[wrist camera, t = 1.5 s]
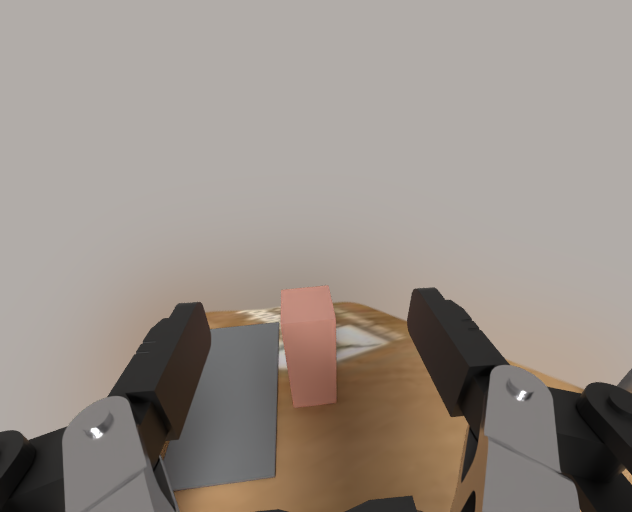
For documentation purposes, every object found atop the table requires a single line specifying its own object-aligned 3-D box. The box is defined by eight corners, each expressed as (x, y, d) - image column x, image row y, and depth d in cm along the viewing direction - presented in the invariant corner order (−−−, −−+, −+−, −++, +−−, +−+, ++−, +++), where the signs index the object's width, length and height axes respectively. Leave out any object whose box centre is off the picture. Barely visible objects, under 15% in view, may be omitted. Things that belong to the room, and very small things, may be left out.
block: (330, 365, 32) (328, 285, 26) (336, 402, 28) (335, 318, 22) (292, 370, 32) (281, 289, 26) (293, 408, 28) (280, 324, 22)
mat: (279, 323, 38) (278, 322, 38) (275, 477, 23) (274, 475, 23) (207, 331, 38) (206, 329, 38) (154, 493, 23) (152, 492, 22)
